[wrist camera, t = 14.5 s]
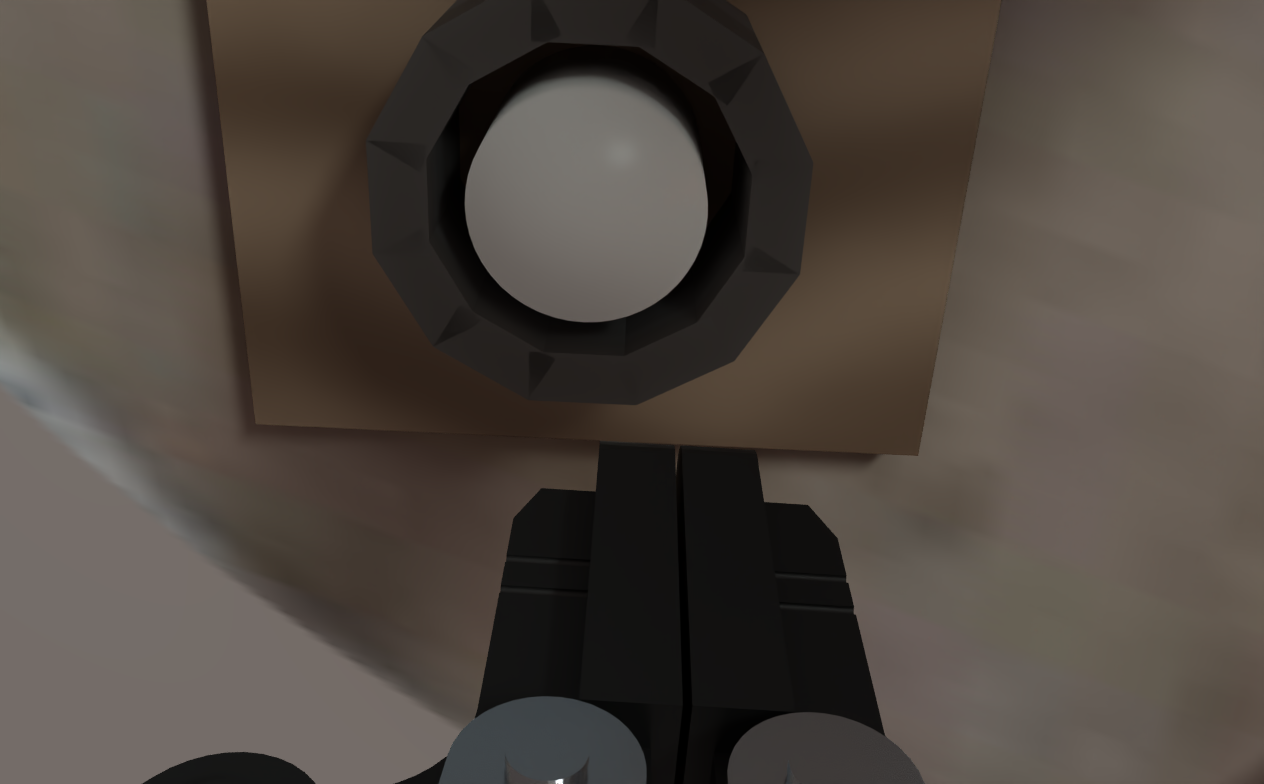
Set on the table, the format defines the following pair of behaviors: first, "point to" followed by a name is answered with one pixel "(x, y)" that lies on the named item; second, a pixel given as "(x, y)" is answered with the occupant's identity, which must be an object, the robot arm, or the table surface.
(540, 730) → the robot arm
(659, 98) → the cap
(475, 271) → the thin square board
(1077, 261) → the table surface
